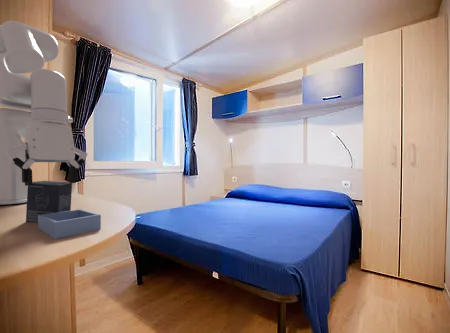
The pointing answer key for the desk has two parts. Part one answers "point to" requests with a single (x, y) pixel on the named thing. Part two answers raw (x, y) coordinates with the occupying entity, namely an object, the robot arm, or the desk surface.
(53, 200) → the box
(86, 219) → the tray
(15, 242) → the desk surface
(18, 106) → the robot arm
